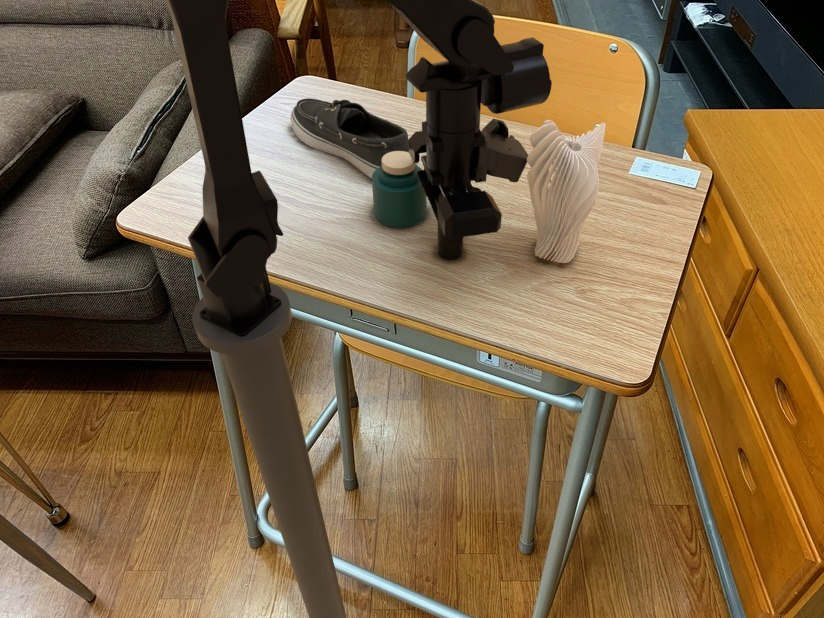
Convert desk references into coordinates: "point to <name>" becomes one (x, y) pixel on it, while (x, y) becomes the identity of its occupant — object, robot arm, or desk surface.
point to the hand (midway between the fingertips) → (450, 239)
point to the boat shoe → (347, 132)
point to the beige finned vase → (563, 187)
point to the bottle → (398, 191)
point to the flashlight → (442, 244)
